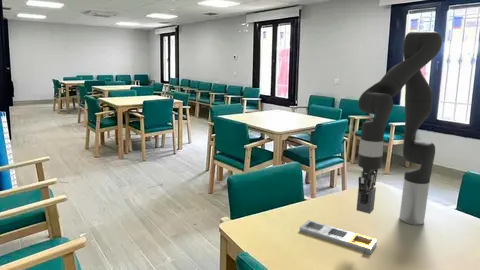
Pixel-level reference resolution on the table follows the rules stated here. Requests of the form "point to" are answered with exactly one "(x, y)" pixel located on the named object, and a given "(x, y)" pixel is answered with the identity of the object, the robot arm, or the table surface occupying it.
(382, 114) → the robot arm
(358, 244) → the white slotted tray
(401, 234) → the table surface
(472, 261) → the table surface
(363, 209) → the dark gray block
